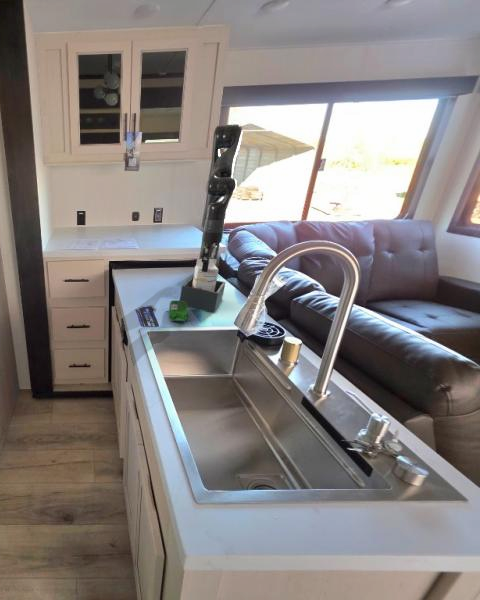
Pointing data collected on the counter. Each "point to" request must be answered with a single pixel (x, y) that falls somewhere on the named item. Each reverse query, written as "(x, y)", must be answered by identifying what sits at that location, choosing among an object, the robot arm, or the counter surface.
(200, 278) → the ink cartridge box
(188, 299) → the waste bin
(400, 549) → the counter surface
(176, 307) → the snack package
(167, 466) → the counter surface
